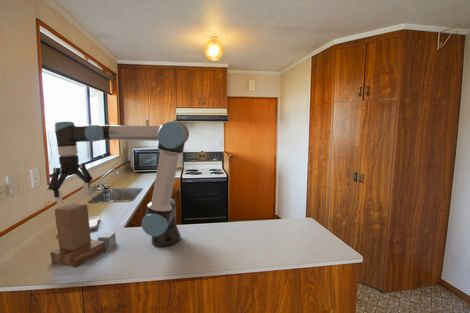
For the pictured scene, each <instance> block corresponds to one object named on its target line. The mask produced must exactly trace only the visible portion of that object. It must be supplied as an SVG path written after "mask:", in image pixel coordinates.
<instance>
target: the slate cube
mask: <svg viewBox="0 0 470 313" xmlns="http://www.w3.org/2000/svg"><path fill="white" fill-rule="evenodd" d="M97 240H98V241H104V242H105V249H111V248H112V247H114V246H115V245H116V244H117V237H116V232H110V231H109V232H108V231H107V232H103V233H102V234H100V235H99V236H97ZM115 243H116V244H115Z"/></svg>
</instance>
